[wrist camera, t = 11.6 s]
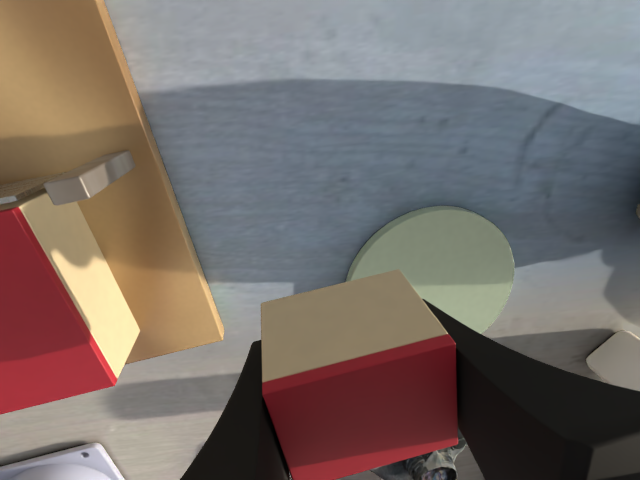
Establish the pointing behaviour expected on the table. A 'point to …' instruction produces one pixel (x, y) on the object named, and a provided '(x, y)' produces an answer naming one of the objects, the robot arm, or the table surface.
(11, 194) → the blade
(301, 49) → the table surface
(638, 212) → the teapot
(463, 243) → the plate
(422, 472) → the camera
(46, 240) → the red and beige block
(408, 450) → the cake slice
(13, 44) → the board
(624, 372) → the pepper shaker
